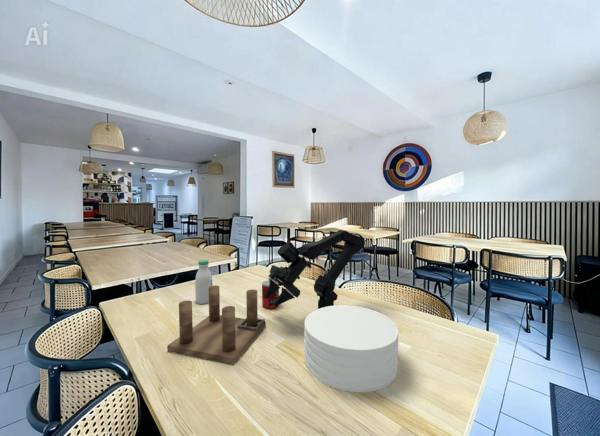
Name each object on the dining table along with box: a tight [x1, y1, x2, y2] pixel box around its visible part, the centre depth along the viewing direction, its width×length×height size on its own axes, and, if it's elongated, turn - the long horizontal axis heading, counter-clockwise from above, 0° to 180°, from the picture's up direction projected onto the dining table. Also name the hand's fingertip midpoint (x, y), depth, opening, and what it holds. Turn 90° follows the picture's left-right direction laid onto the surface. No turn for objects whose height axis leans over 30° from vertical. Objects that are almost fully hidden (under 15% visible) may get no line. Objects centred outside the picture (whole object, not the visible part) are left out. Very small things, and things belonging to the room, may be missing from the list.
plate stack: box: [303, 304, 400, 393], centre depth 80 cm, size 28×28×12 cm
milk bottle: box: [194, 259, 213, 305], centre depth 124 cm, size 8×8×20 cm
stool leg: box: [245, 289, 258, 327], centre depth 97 cm, size 4×4×13 cm
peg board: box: [167, 285, 267, 365], centre depth 91 cm, size 24×24×15 cm
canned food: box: [261, 279, 280, 310], centre depth 119 cm, size 8×8×11 cm
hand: (269, 301), depth 100 cm, fingers open, 9 cm apart
